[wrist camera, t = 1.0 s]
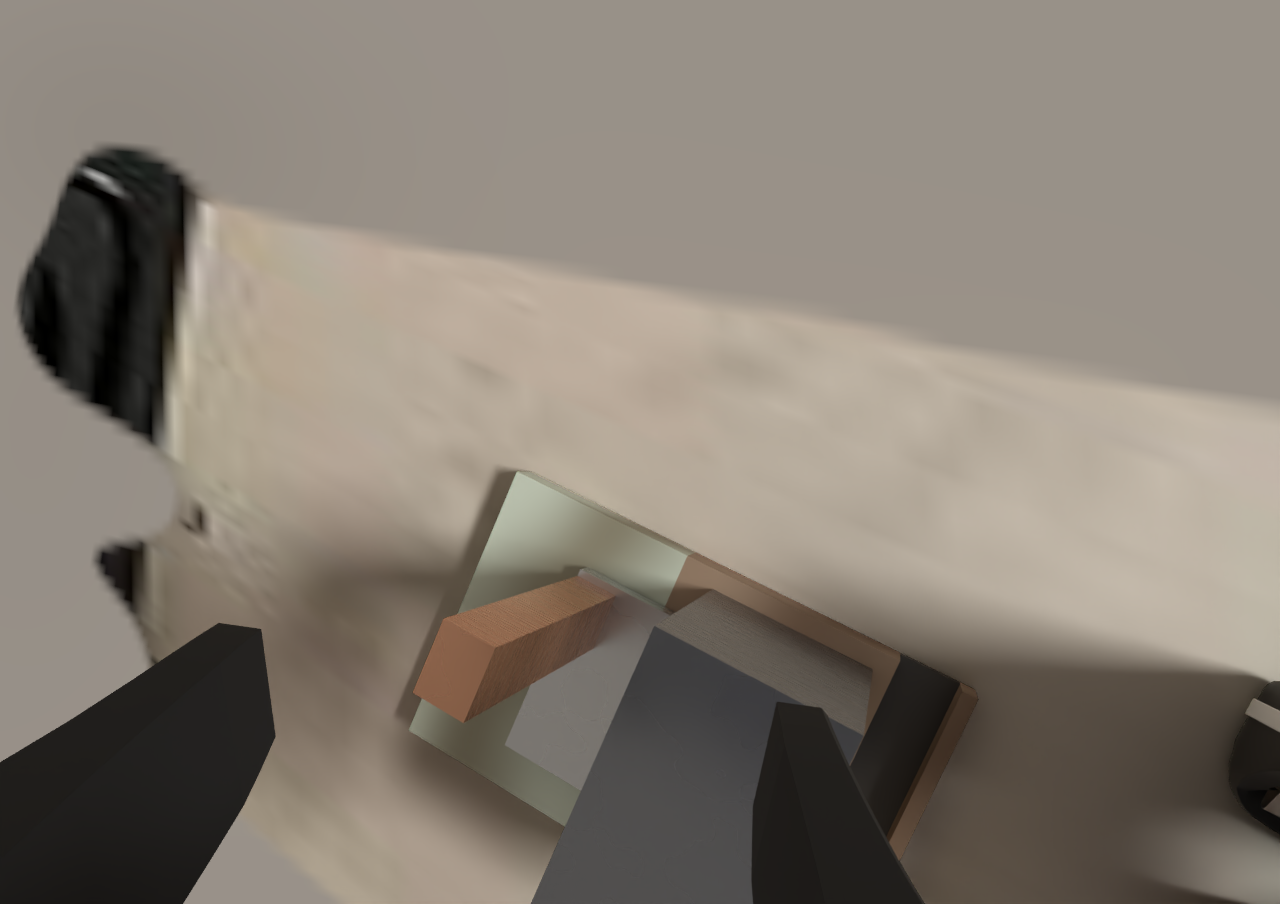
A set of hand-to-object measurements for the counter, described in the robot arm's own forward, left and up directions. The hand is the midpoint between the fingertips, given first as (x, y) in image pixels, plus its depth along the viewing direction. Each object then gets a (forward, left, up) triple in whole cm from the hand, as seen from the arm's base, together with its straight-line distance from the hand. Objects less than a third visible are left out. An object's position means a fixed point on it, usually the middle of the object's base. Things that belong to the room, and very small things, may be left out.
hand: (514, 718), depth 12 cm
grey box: (-4, 0, -12) cm, 12 cm away
